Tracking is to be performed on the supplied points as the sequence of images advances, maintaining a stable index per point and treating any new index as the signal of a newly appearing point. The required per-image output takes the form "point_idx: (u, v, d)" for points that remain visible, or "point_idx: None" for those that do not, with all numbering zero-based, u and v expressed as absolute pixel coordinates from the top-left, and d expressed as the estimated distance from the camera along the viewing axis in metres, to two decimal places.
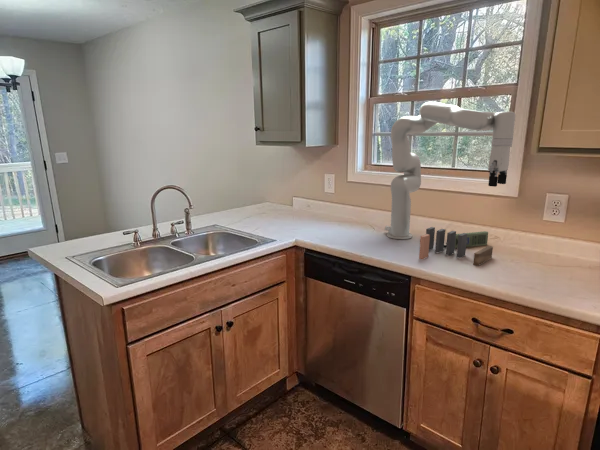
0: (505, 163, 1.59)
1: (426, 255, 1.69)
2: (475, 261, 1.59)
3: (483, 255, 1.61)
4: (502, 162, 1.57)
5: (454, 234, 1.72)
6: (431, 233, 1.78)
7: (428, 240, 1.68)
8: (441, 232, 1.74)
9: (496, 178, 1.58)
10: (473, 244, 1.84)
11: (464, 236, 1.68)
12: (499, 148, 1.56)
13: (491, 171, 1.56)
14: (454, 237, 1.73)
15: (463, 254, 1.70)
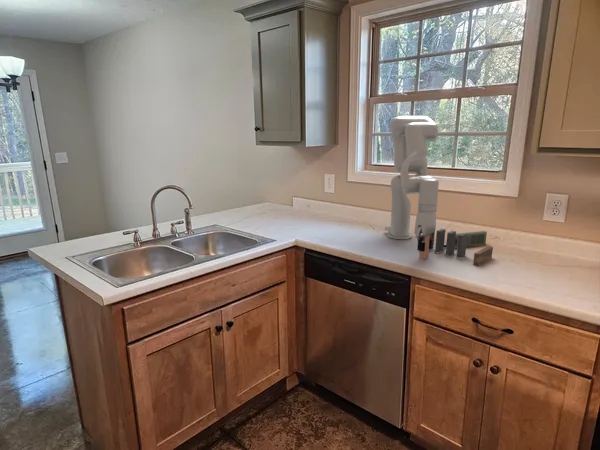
0: (430, 227, 1.64)
1: (426, 255, 1.69)
2: (475, 261, 1.59)
3: (483, 255, 1.61)
4: (427, 227, 1.62)
5: (454, 234, 1.72)
6: None
7: (428, 240, 1.68)
8: (441, 232, 1.74)
9: (423, 244, 1.65)
10: (472, 243, 1.85)
11: (464, 236, 1.68)
12: (423, 214, 1.61)
13: None
14: (454, 237, 1.73)
15: (463, 254, 1.70)
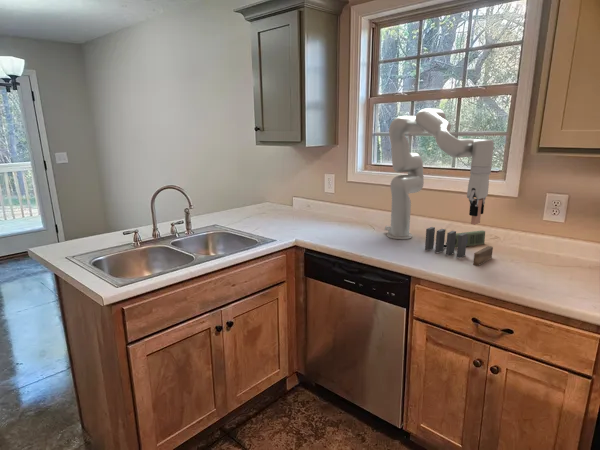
0: (484, 191, 1.58)
1: (478, 221, 1.63)
2: (475, 261, 1.59)
3: (483, 255, 1.61)
4: (480, 190, 1.56)
5: (454, 234, 1.72)
6: (431, 233, 1.78)
7: (480, 205, 1.62)
8: (441, 232, 1.74)
9: (476, 208, 1.59)
10: (471, 243, 1.85)
11: (464, 236, 1.68)
12: (477, 176, 1.55)
13: None
14: (454, 237, 1.73)
15: (463, 254, 1.70)
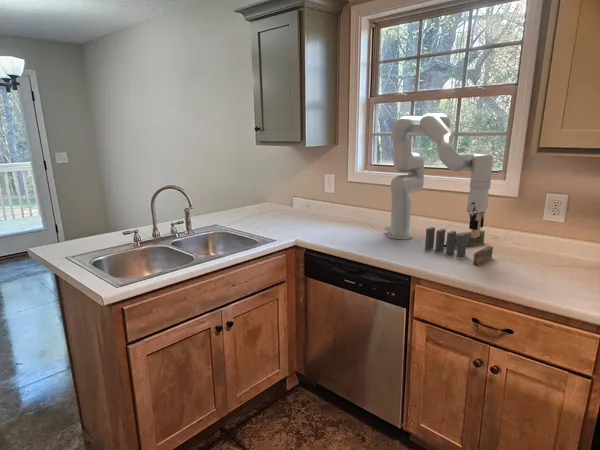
0: (484, 205, 1.60)
1: (478, 234, 1.64)
2: (475, 261, 1.59)
3: (483, 255, 1.61)
4: (480, 204, 1.57)
5: (454, 234, 1.72)
6: (431, 233, 1.78)
7: (480, 219, 1.63)
8: (441, 232, 1.74)
9: (476, 222, 1.60)
10: (470, 243, 1.86)
11: (464, 236, 1.68)
12: (477, 190, 1.56)
13: None
14: (454, 237, 1.73)
15: (463, 254, 1.70)
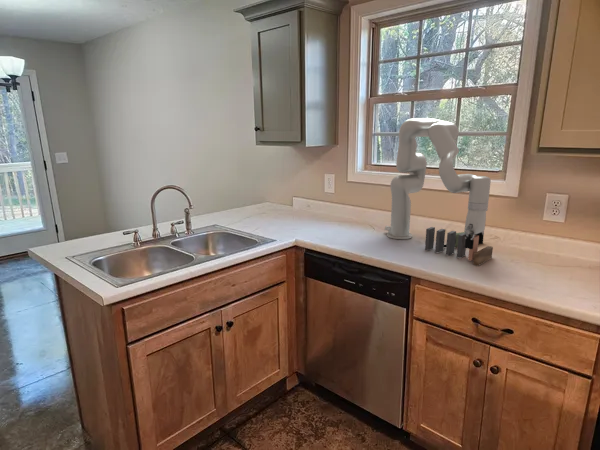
0: (481, 226, 1.62)
1: None
2: (475, 261, 1.59)
3: (483, 255, 1.61)
4: (478, 226, 1.60)
5: (454, 234, 1.72)
6: (431, 233, 1.78)
7: (477, 241, 1.66)
8: (441, 232, 1.74)
9: (472, 241, 1.61)
10: None
11: (464, 236, 1.68)
12: (475, 212, 1.59)
13: (467, 235, 1.59)
14: (454, 237, 1.73)
15: (463, 254, 1.70)
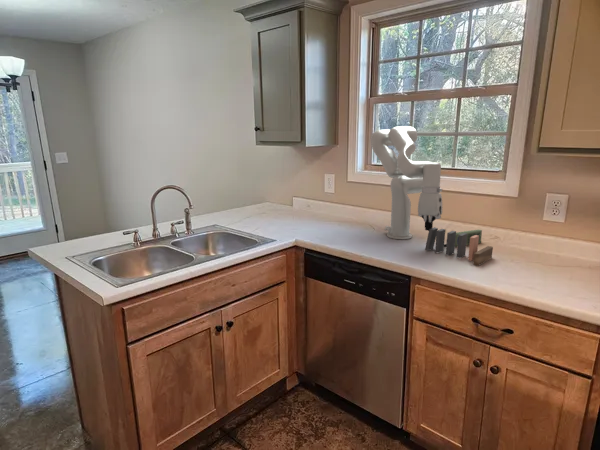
0: (426, 208, 1.76)
1: None
2: (475, 261, 1.59)
3: (483, 255, 1.61)
4: (420, 206, 1.78)
5: (454, 234, 1.72)
6: (433, 234, 1.78)
7: (477, 241, 1.66)
8: (441, 232, 1.74)
9: None
10: (468, 242, 1.87)
11: (464, 236, 1.68)
12: None
13: None
14: (454, 237, 1.73)
15: (463, 254, 1.70)
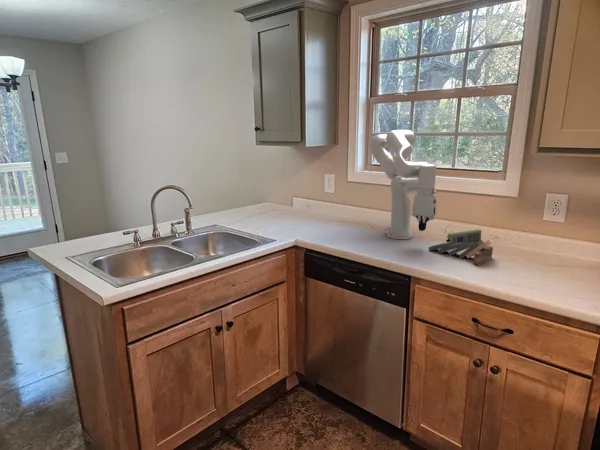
0: (420, 209, 1.78)
1: (472, 255, 1.67)
2: (475, 261, 1.59)
3: (483, 255, 1.61)
4: (415, 207, 1.80)
5: None
6: None
7: (485, 246, 1.64)
8: None
9: None
10: (468, 242, 1.87)
11: None
12: None
13: None
14: None
15: (465, 255, 1.70)
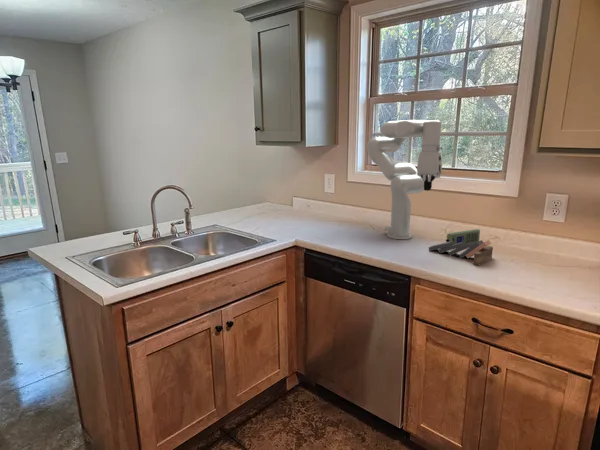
0: (425, 167, 1.74)
1: (472, 255, 1.67)
2: (475, 261, 1.59)
3: (483, 255, 1.61)
4: (419, 165, 1.76)
5: None
6: None
7: (485, 246, 1.64)
8: (459, 247, 1.69)
9: None
10: (467, 242, 1.87)
11: None
12: None
13: None
14: None
15: (465, 255, 1.70)
